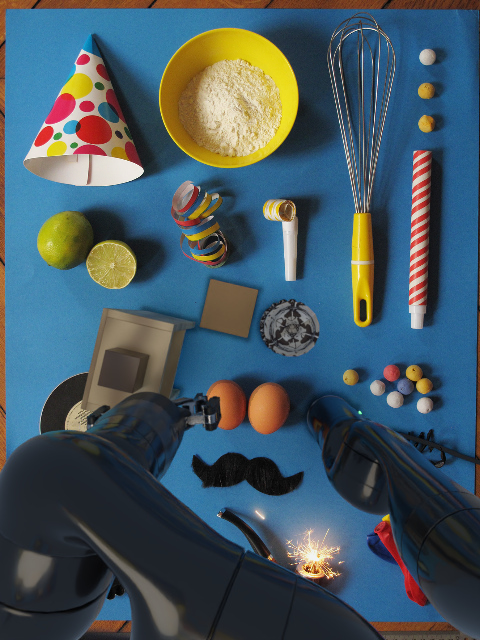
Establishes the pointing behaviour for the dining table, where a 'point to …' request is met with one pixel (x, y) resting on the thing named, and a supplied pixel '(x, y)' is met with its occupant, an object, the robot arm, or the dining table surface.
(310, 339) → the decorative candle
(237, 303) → the mat
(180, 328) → the shelf
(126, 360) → the block
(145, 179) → the dining table surface
